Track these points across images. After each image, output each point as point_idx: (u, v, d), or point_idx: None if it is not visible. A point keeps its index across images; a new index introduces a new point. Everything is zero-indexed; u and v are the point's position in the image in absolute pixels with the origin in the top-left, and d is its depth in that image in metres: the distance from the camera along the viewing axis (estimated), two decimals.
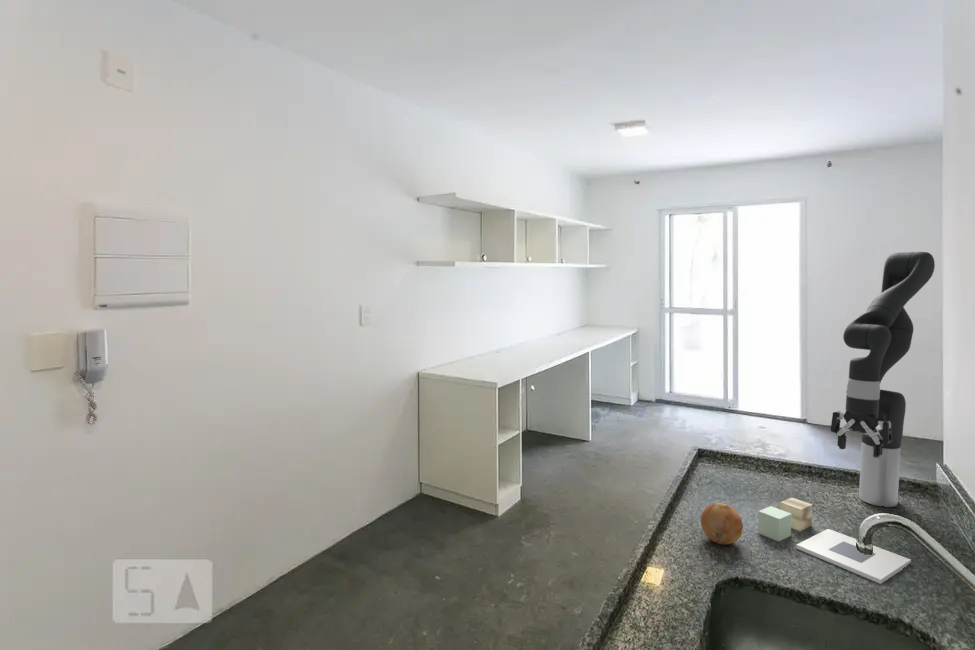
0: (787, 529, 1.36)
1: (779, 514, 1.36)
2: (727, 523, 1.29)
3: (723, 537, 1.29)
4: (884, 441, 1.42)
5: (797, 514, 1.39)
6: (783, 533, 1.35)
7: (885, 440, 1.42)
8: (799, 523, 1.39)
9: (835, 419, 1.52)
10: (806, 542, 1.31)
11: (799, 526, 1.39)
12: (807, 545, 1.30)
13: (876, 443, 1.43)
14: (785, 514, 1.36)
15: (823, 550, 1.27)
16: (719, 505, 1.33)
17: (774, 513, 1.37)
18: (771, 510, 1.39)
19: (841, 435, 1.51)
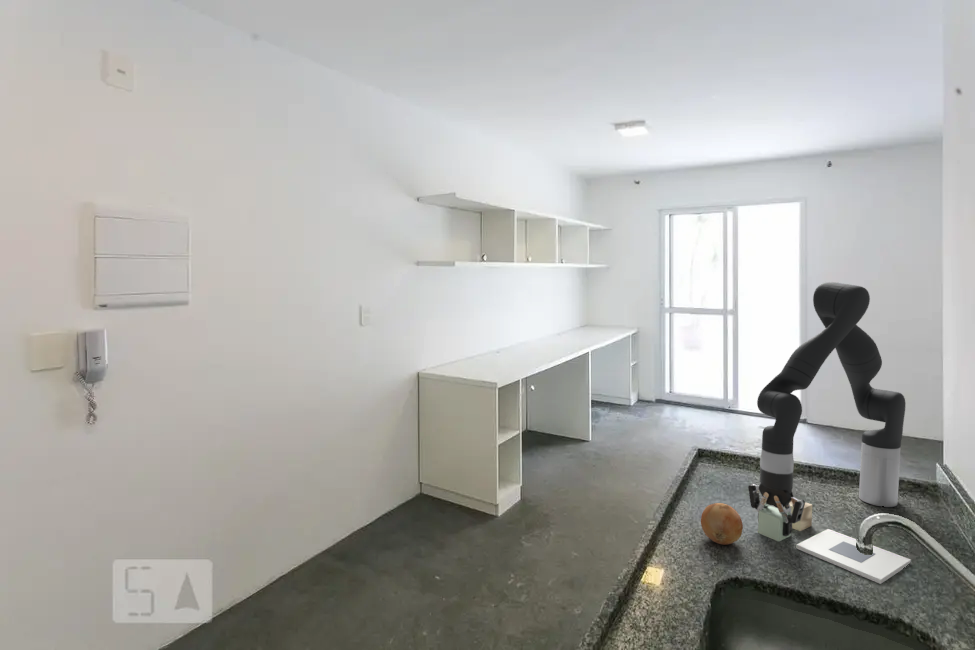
0: None
1: (779, 514, 1.36)
2: (727, 523, 1.29)
3: (723, 537, 1.29)
4: (792, 520, 1.32)
5: None
6: None
7: (793, 519, 1.32)
8: (799, 523, 1.39)
9: (752, 493, 1.41)
10: (806, 542, 1.31)
11: (799, 526, 1.39)
12: (807, 545, 1.30)
13: (784, 521, 1.34)
14: None
15: (823, 550, 1.27)
16: (719, 505, 1.33)
17: (774, 512, 1.37)
18: (771, 509, 1.39)
19: None
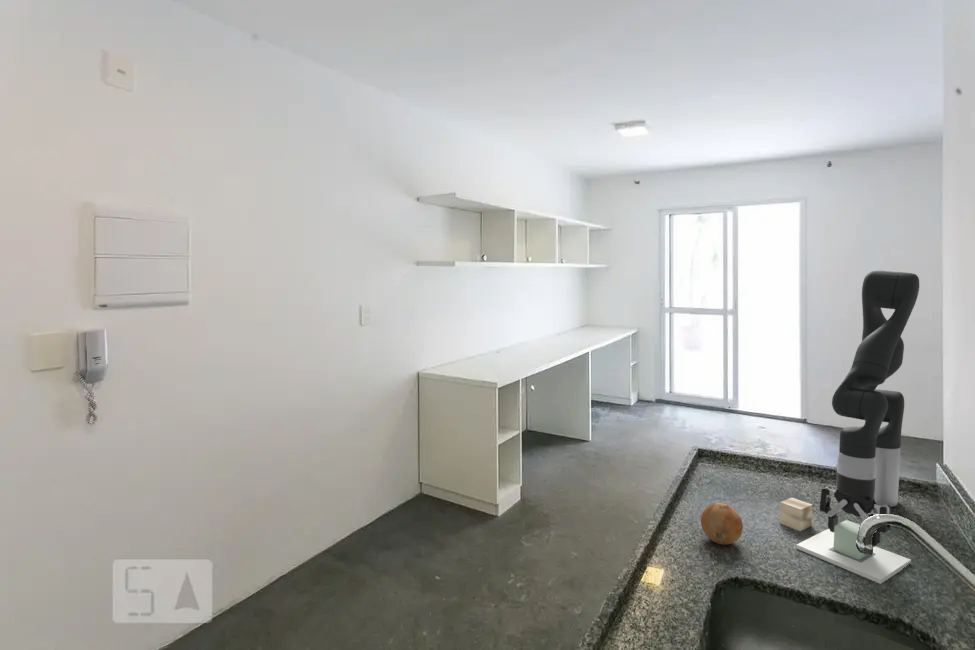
0: None
1: (858, 529, 1.25)
2: (727, 523, 1.29)
3: (723, 537, 1.29)
4: (882, 529, 1.20)
5: (797, 514, 1.39)
6: None
7: (883, 528, 1.20)
8: (799, 523, 1.39)
9: (824, 497, 1.30)
10: (806, 542, 1.31)
11: (799, 526, 1.39)
12: (807, 545, 1.30)
13: None
14: None
15: (823, 550, 1.27)
16: (719, 505, 1.33)
17: (852, 528, 1.26)
18: (848, 524, 1.28)
19: (832, 516, 1.29)
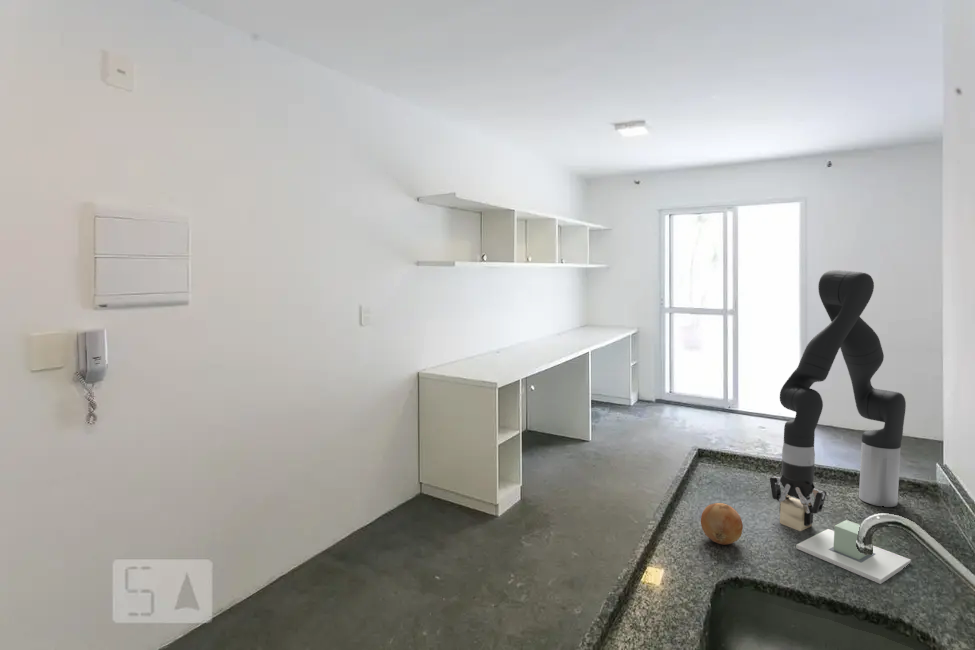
0: None
1: (858, 529, 1.25)
2: (727, 523, 1.29)
3: (723, 537, 1.29)
4: (813, 510, 1.37)
5: (798, 514, 1.39)
6: None
7: (814, 509, 1.37)
8: (799, 523, 1.39)
9: (773, 485, 1.46)
10: (806, 542, 1.31)
11: (799, 526, 1.39)
12: (807, 545, 1.30)
13: (806, 511, 1.39)
14: None
15: (823, 550, 1.27)
16: (719, 505, 1.33)
17: (852, 528, 1.26)
18: (848, 524, 1.28)
19: None
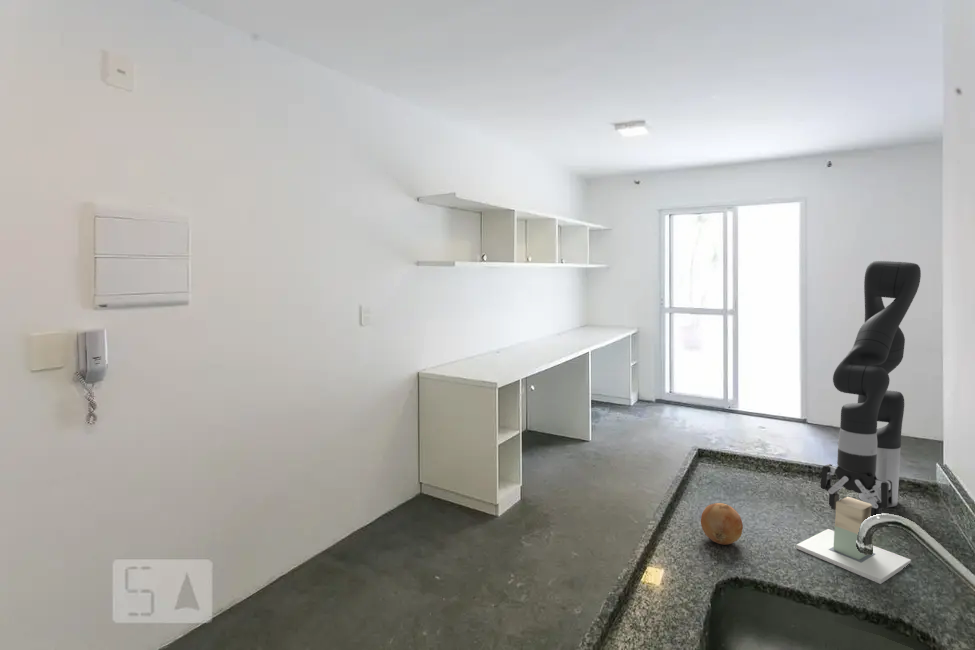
0: None
1: None
2: (727, 523, 1.29)
3: (723, 537, 1.29)
4: (883, 505, 1.19)
5: (857, 516, 1.23)
6: None
7: (884, 504, 1.19)
8: (859, 526, 1.22)
9: (825, 474, 1.29)
10: (806, 542, 1.31)
11: None
12: (807, 545, 1.30)
13: (874, 506, 1.21)
14: None
15: (823, 550, 1.27)
16: (719, 505, 1.33)
17: None
18: None
19: (833, 493, 1.29)
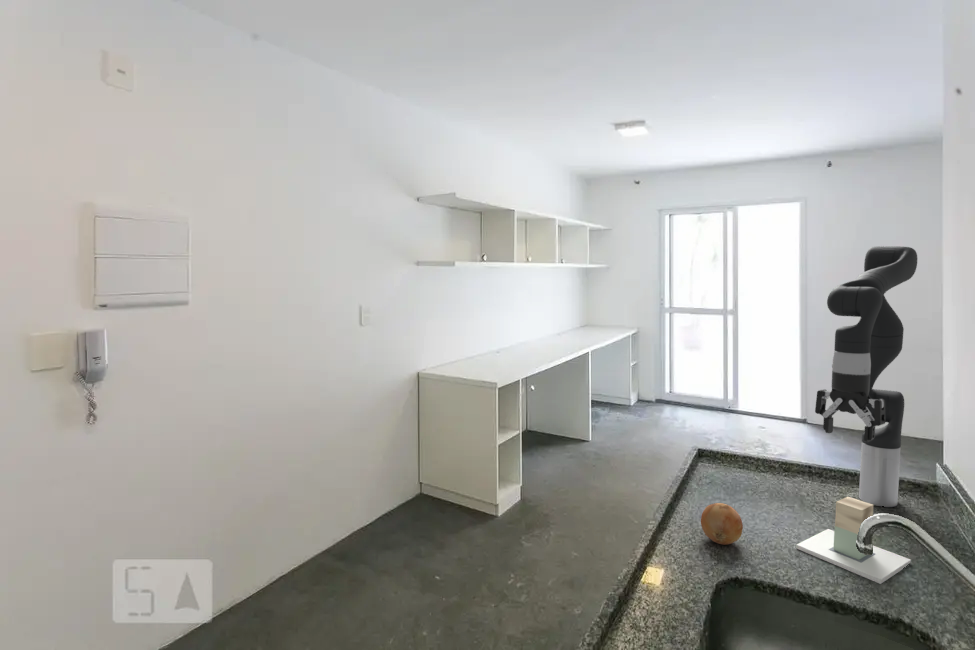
0: None
1: None
2: (727, 523, 1.29)
3: (723, 537, 1.29)
4: (876, 422, 1.21)
5: (857, 516, 1.23)
6: None
7: (877, 421, 1.21)
8: (859, 526, 1.22)
9: (820, 398, 1.31)
10: (806, 542, 1.31)
11: None
12: (807, 545, 1.30)
13: (867, 425, 1.23)
14: None
15: (823, 550, 1.27)
16: (719, 505, 1.33)
17: None
18: None
19: (827, 417, 1.30)
